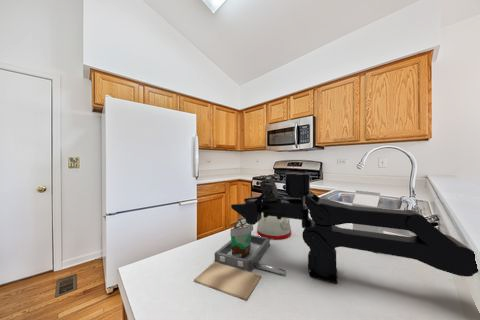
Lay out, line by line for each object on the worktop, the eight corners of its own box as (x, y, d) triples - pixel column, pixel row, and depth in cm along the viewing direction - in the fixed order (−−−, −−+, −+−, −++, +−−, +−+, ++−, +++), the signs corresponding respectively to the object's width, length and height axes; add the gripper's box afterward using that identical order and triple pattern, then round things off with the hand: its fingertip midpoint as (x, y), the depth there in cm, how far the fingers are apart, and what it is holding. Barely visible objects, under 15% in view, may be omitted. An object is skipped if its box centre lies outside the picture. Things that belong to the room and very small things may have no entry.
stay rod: (286, 273, 50) (285, 268, 50) (284, 276, 49) (284, 271, 49) (251, 264, 55) (251, 259, 54) (250, 267, 53) (249, 262, 53)
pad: (261, 277, 49) (261, 275, 49) (246, 300, 41) (246, 298, 41) (214, 263, 56) (214, 262, 56) (193, 281, 48) (193, 279, 48)
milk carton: (377, 253, 59) (376, 194, 59) (352, 245, 65) (352, 191, 65) (383, 246, 64) (383, 191, 64) (360, 239, 69) (359, 189, 69)
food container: (251, 264, 55) (250, 230, 55) (230, 262, 56) (230, 229, 56) (255, 244, 67) (255, 217, 67) (239, 243, 68) (238, 216, 68)
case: (269, 245, 66) (269, 238, 66) (250, 272, 51) (249, 263, 51) (240, 239, 72) (239, 232, 72) (213, 261, 56) (213, 253, 56)
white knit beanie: (250, 232, 78) (249, 197, 78) (270, 224, 87) (270, 192, 87) (277, 243, 68) (276, 202, 68) (297, 232, 77) (296, 196, 77)
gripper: (291, 177, 62) (249, 176, 69) (276, 184, 46) (222, 181, 53) (292, 210, 62) (250, 205, 69) (277, 229, 46) (223, 221, 53)
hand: (238, 203), depth 61 cm, fingers open, 9 cm apart
